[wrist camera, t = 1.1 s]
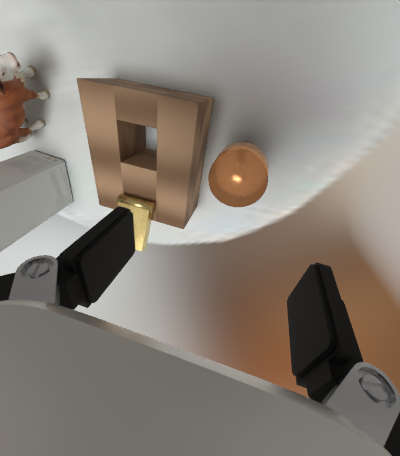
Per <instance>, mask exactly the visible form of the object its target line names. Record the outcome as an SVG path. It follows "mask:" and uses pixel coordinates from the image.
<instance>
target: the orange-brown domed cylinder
mask: <svg viewBox="0 0 400 456" xmlns="http://www.w3.org/2000/svg"><path fill="white" fill-rule="evenodd" d="M208 181H209V186H210V189H211V191H212V193H213V195H214V196H215V197H216V198H217V199H218V200H219V201H220V202H222V203H224V204H226V205H228V206H232V207H245V206H248V205H251V204H253V203H255V202H256V201H257V200H259V199H260V198H261V196H262V195H263V194H264V192H265V190H266V187H267V183H268V162H267V158H266V156H265V154H264V153H263V152H262V150H261V149H259V148H258V147H257V146H255V145H254V144H253V143H251V142H238V143H234V144H231V145H229V146H227V147H226V148H225V149H224V150H223V151H222V152H221V153H220V154H219V156H218V157H217V159H216V160H215V162H214V163H213V165H212V166H211V169H210V171H209V177H208Z"/></svg>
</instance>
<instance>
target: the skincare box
mask: <svg viewBox="0 0 400 456" xmlns="http://www.w3.org/2000/svg"><path fill="white" fill-rule="evenodd" d="M72 202H73V198H72V193H71V189H70V184H69V180H68V175H67V171H66V166H65V162H64V161H63V160H61V159H58V158H54V157H52V156H49V155H47V154H44V153H41V152H38V151H30V152H27V153H24V154H21V155H19V156H16V157H13V158H10V159H8V160H5V161H2V162H0V252H1V251H3V250H4V249H5V248H7V247H8V246H10V245H11V244H13V243H14V242H15V241H17V240H18V239H20V238H21V237H23V236H24V235H25V234H27V233H28V232H30V231H31V230H33V229H34V228H36V227H37V226H38V225H40V224H41V223H43V222H44V221H46V220H47V219H49V218H50V217H51V216H53V215H54V214H56V213H57V212H59V211H60V210H62V209H63V208H64V207H66V206H67V205H69V204H70V203H72Z"/></svg>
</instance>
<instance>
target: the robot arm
mask: <svg viewBox="0 0 400 456" xmlns="http://www.w3.org/2000/svg"><path fill="white" fill-rule="evenodd" d="M134 252H135V235H134V219H133V213H132V212H131V210H130V209H128V208H125V207H121V206H118V207H117V208H115V209H114V210H113V211H112V212H111V213H109V214H108V215H107V216H106V217H104V218H103V219H102V220H101V221H100V222H98V223H97V224H96V225H95V226H93V227H92V228H91V229H90V230H89V231H88V232H86V233H85V234H84V235H83V236H81V237H80V238H79V239H78V240H76V241H75V242H74V243H73V244H72V245H70V246H69V247H68V248H67V249H66V250H64V251H63V252H62V253H61V254H60V255H59V256H58V257H57V258H56V259H55V258H54V257H52V256H47V255H43V256H37V257H33V258H31V259H28V260H26V261H25V262H24V263H22V264H21V265H20V266H19V267H18V268H17V270H16V273H11V274H7V275H3V276H0V456H400V395H399V393H398V391H397V389H396V387H395V386H394V384H393V383H392V381H391V380H390V379H389V378H388V377H387V376H386V375H385V374H384V373H383V372H382V371H381V370H379V369H378V368H377V367H375V366H373V365H371V364H369V363H365V362H363V359H362V356H361V353H360V350H359V347H358V344H357V341H356V338H355V335H354V332H353V328H352V325H351V323H350V319H349V316H348V313H347V310H346V307H345V304H344V302H343V301H342V300H341V297H340V294H339V291H338V288H337V285H336V281H335V279H334V275H333V272H332V269H331V267H330V266H327V265H323V264H320V263H315V264H314V265H310V266H309V268H308V269H307V271H306V272H305V274H304V275H303V277H302V278H301V280H300V281H299V283H298V284H297V285H296V287H295V288H294V290H293V291H292V293H291V294H290V296H289V297H288V300H287V308H288V322H289V336H290V349H291V363H292V373H293V375H295V376H296V382H297V385H299V386H302V387H305V388H307V392H308V396H309V398H308V397H305V396H303V395H301V394H298V393H295V392H293V391H290V390H288V389H285V388H283V387H280V386H278V385H275V384H273V383H270V382H267V381H265V380H262V379H260V378H257V377H254V376H252V375H249V374H247V373H244V372H241V371H239V370H236V369H233V368H231V367H228V366H225V365H223V364H220V363H217V362H215V361H212V360H209V359H206V358H204V357H201V356H199V355H196V354H193V353H190V352H188V351H185V350H182V349H180V348H177V347H174V346H172V345H169V344H166V343H164V342H161V341H158V340H155V339H153V338H150V337H147V336H145V335H142V334H139V333H136V332H134V331H131V330H128V329H125V328H123V327H120V326H117V325H114V324H112V323H109V322H106V321H103V320H101V319H98V318H95V317H92V316H89V315H87V314H84V313H81V312H78V311H75V310H74V309H75V308H76V307H77V306H78V305H81V306H84V307H86V308H88V307H89V306H90V305H91V303H94V302H96V301H97V300H98V299H99V297H100V296H101V295H102V293H103V292H104V291H105V290H106V288H107V287H108V286H109V285H110V284H111V282H112V281H113V280H114V278H115V277H116V276H117V275H118V273H119V272H120V271H121V269H122V268H123V267H124V266H125V265H126V263H127V262H128V260H129V259H130V258H131V257H132V256H133V254H134Z"/></svg>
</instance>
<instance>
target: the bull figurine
mask: <svg viewBox="0 0 400 456" xmlns="http://www.w3.org/2000/svg"><path fill="white" fill-rule="evenodd" d="M20 68H21V66H20V63H19V62H18V60H17V58H16V56H15V55H14V54H13V53H11V52H8V53H6V54H4V55H0V149H2V148H5V147H8V146H10V145H12V144H15V143H20V142H24V141H26V140H27V139H28V138H30V137H31V136H32V134H31V132H32V131H34V130H37V129H39V130H40V129H41V127H43V126H45V122H44V121H43V120H42V119H39V120H37V121H36V122H35V123H34V124H33V125H32V126H30V127H27V128H19V127H23V125H25V124H27V123H28V121H27V119H25V109H24V102H25V101H28V100H31V99H35V98H40V99H42V100H45V99H47V98H49V97H50V95H49V92H48V91H47V90H43V91H40V92H38V93H36V92H35V91H31V90H27V89H25V86H26V83H25V80H24V78H32V77H33V76H35V75H36V71H35V69H34V67H32V66H29V67H28V68H27V69H26V70H24V71H22V72H19V71H18V70H19V69H20Z"/></svg>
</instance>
